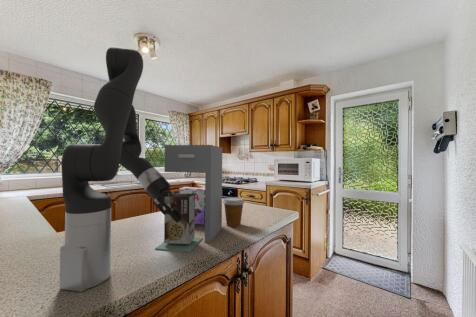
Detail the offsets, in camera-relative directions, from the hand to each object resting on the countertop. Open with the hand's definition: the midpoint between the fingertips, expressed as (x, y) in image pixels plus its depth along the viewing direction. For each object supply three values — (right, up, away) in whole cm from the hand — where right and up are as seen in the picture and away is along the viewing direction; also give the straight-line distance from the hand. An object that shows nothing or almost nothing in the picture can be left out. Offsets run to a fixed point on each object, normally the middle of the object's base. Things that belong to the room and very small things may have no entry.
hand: (184, 217), depth 74 cm
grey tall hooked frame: (+1, -9, +11) cm, 14 cm away
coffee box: (-2, -8, 0) cm, 8 cm away
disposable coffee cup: (+17, -10, +22) cm, 30 cm away
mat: (-2, -9, 0) cm, 9 cm away
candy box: (-2, -10, +26) cm, 28 cm away
